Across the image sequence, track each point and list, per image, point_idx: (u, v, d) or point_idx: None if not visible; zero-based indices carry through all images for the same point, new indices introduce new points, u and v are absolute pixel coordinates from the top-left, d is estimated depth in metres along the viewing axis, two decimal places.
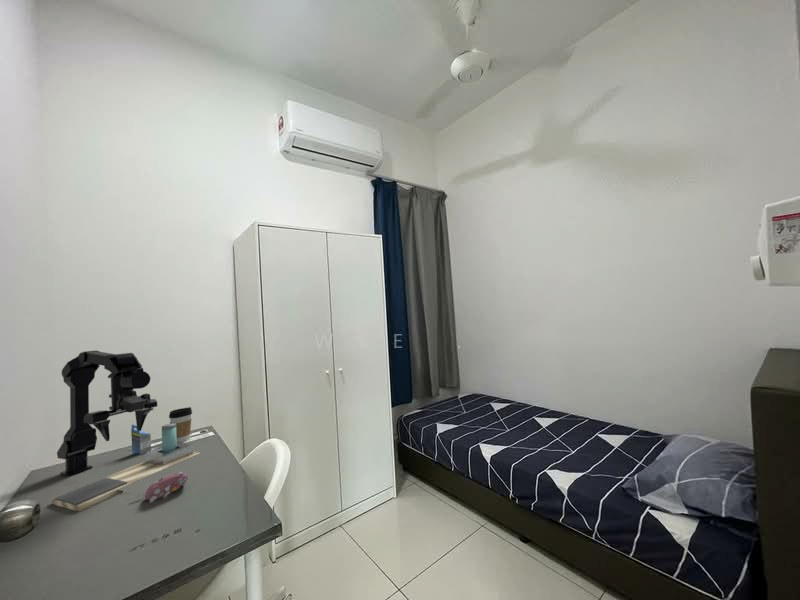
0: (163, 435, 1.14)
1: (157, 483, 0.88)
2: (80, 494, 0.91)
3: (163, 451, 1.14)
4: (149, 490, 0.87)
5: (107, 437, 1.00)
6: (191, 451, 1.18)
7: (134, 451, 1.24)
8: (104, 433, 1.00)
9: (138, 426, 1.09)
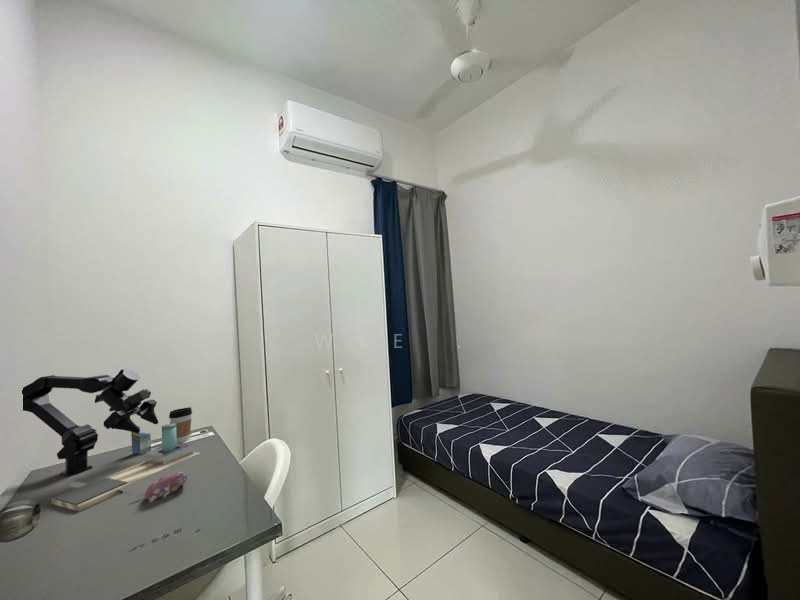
0: (163, 435, 1.14)
1: (157, 483, 0.88)
2: (80, 494, 0.91)
3: (163, 451, 1.14)
4: (149, 490, 0.87)
5: (137, 428, 1.11)
6: (191, 451, 1.18)
7: (134, 451, 1.24)
8: (132, 426, 1.10)
9: (153, 421, 1.20)
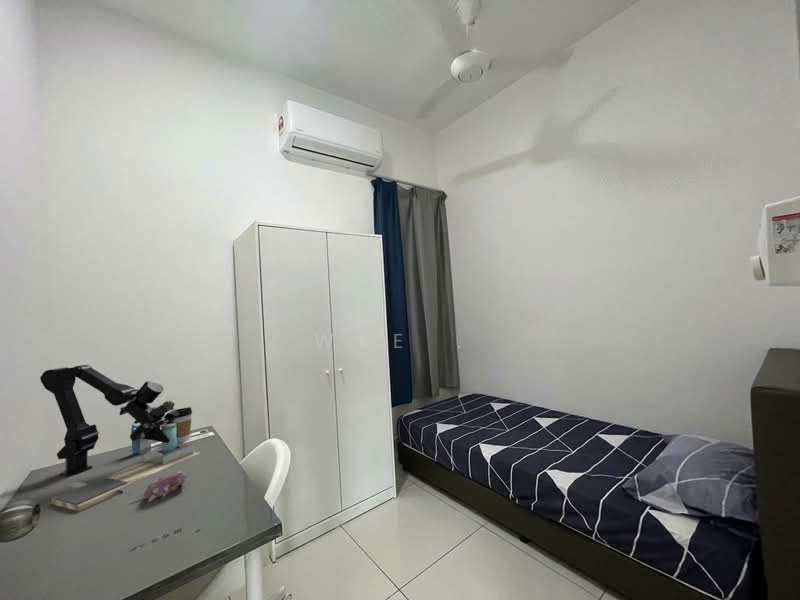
0: None
1: (156, 482, 0.89)
2: (80, 494, 0.91)
3: (163, 451, 1.14)
4: (148, 489, 0.88)
5: (166, 438, 1.13)
6: (191, 451, 1.18)
7: (134, 451, 1.24)
8: (162, 437, 1.13)
9: None
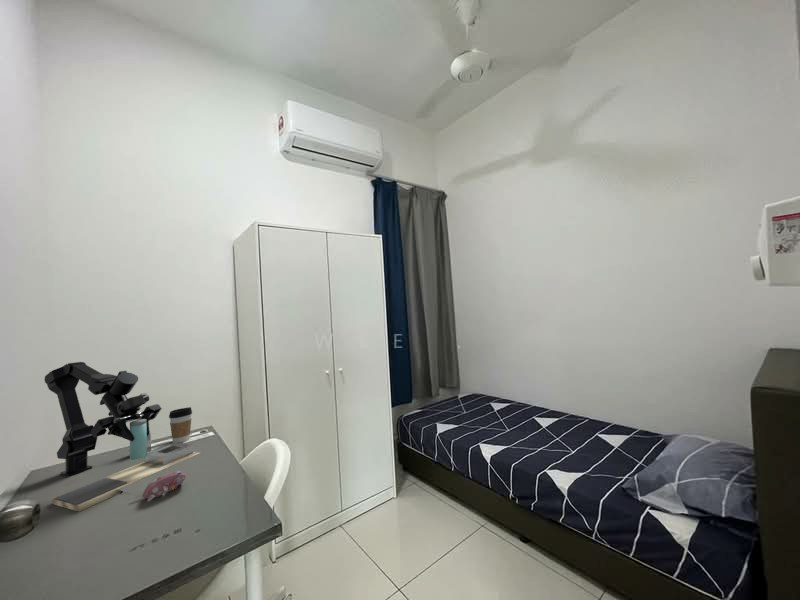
0: None
1: (155, 482, 0.89)
2: (80, 494, 0.91)
3: (130, 449, 1.03)
4: (147, 489, 0.88)
5: (131, 436, 1.02)
6: (191, 451, 1.18)
7: None
8: (126, 434, 1.02)
9: None
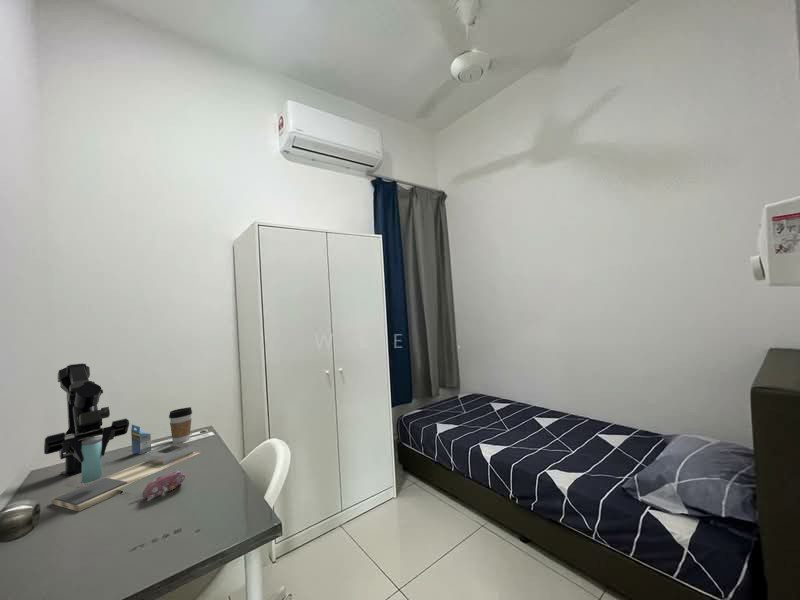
0: (82, 451, 0.93)
1: (155, 482, 0.89)
2: (80, 494, 0.91)
3: None
4: (147, 488, 0.88)
5: (79, 456, 0.92)
6: (191, 451, 1.18)
7: (134, 451, 1.24)
8: (76, 453, 0.92)
9: None
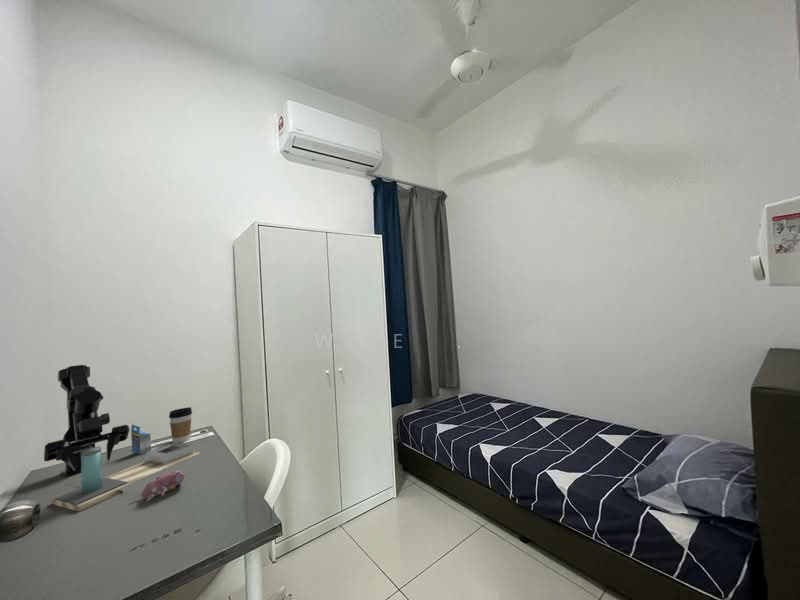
0: None
1: (154, 481, 0.89)
2: (80, 494, 0.91)
3: None
4: (146, 488, 0.88)
5: (73, 465, 0.91)
6: (191, 451, 1.18)
7: (134, 451, 1.24)
8: (70, 462, 0.91)
9: (107, 456, 0.97)
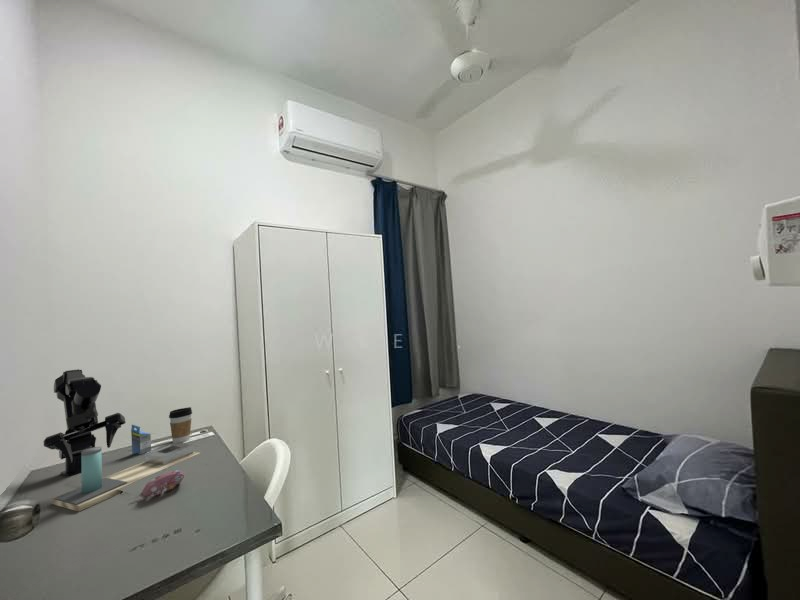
0: None
1: (154, 481, 0.90)
2: (80, 494, 0.91)
3: None
4: (146, 488, 0.88)
5: (67, 458, 0.98)
6: (191, 451, 1.18)
7: (134, 451, 1.24)
8: (64, 455, 0.98)
9: None
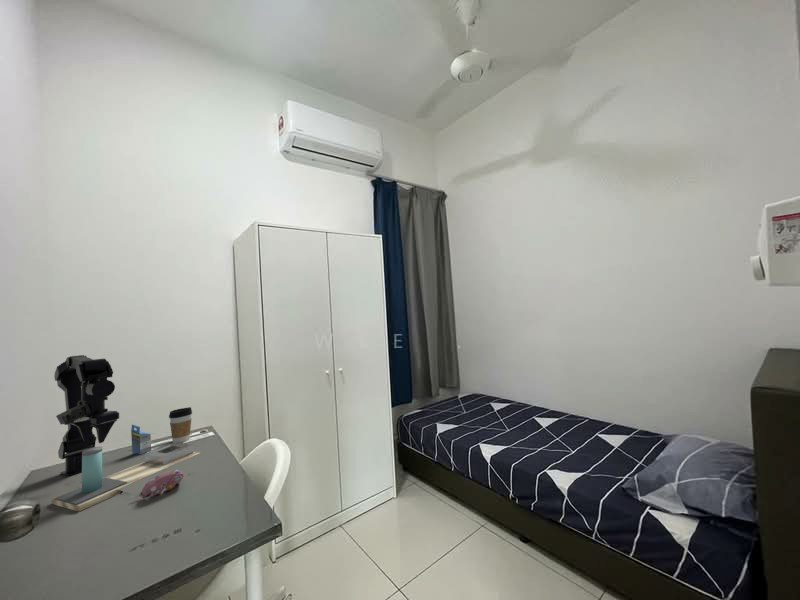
0: (82, 461, 0.93)
1: (153, 480, 0.90)
2: (80, 494, 0.91)
3: None
4: (146, 487, 0.89)
5: None
6: (191, 451, 1.18)
7: (134, 451, 1.24)
8: None
9: None
